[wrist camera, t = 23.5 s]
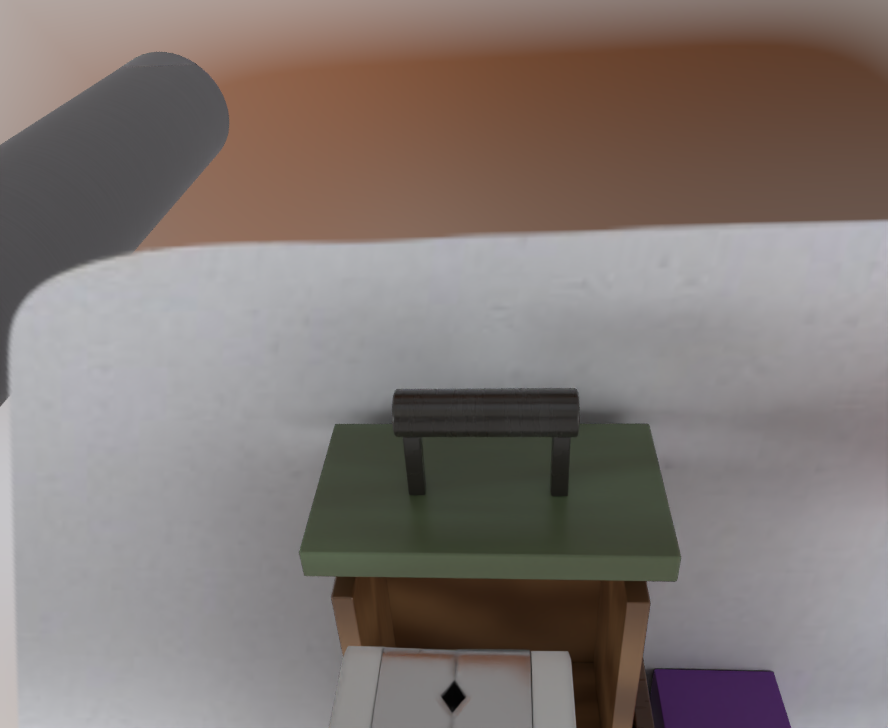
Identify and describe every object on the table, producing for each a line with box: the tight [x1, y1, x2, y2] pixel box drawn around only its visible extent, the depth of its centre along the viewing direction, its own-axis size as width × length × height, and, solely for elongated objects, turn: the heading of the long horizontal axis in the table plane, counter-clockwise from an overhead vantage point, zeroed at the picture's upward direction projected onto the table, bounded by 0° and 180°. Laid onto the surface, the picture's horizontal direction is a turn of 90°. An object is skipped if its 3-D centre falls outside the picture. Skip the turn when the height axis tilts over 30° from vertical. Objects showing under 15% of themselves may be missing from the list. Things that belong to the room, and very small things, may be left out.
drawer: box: [299, 388, 681, 728], centre depth 31 cm, size 19×12×7 cm, turn 3°
